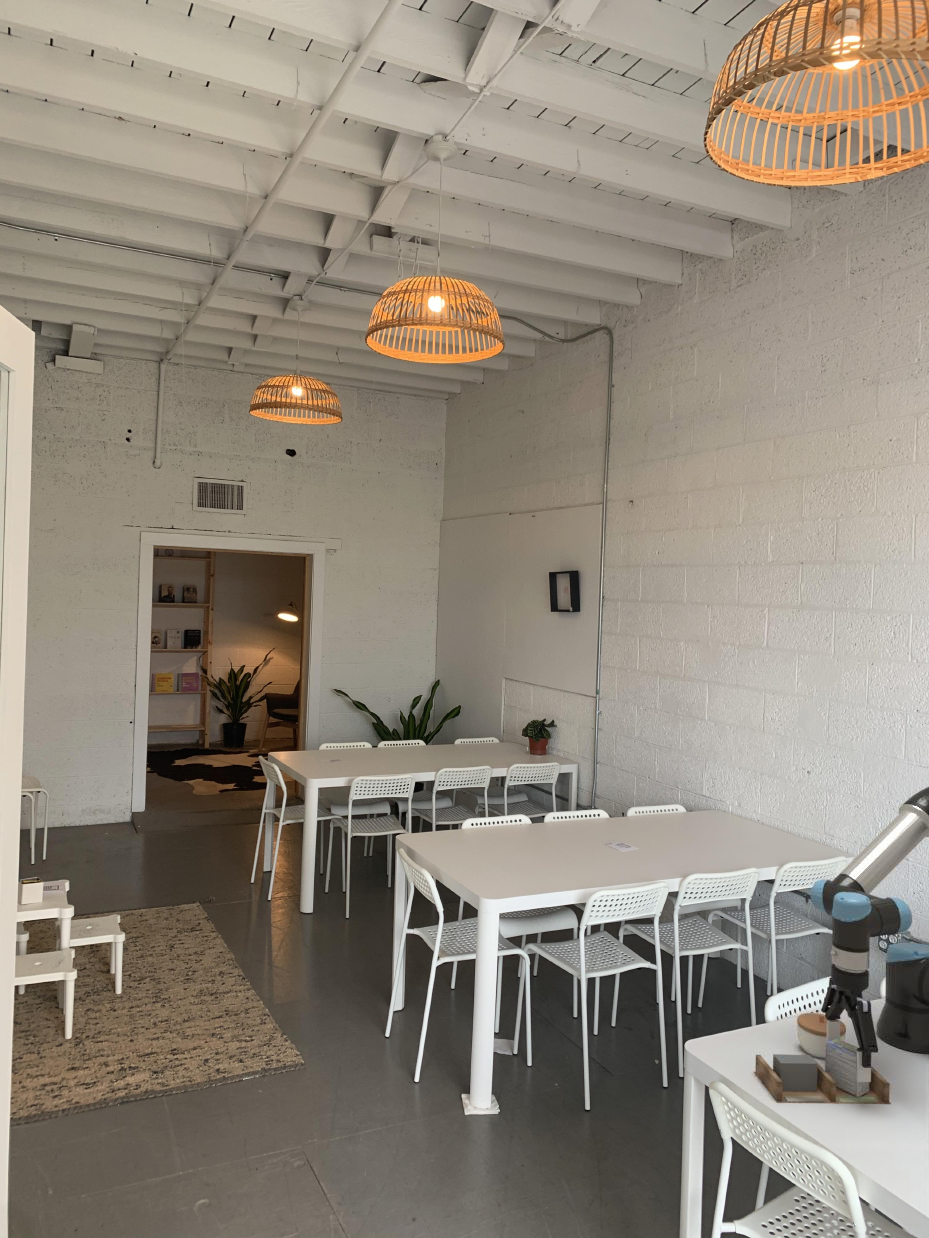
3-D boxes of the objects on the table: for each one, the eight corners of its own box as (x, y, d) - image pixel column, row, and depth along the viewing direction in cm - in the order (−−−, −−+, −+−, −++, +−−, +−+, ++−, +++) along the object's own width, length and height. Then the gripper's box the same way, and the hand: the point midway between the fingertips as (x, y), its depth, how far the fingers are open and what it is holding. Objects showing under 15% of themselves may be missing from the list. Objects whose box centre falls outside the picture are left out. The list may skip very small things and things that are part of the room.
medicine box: (869, 1093, 189) (870, 1052, 190) (857, 1098, 187) (858, 1056, 187) (836, 1077, 196) (837, 1037, 196) (824, 1082, 193) (825, 1041, 194)
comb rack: (753, 1076, 197) (753, 1053, 197) (860, 1077, 198) (860, 1055, 198) (776, 1107, 184) (777, 1082, 184) (891, 1108, 185) (892, 1084, 185)
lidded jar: (849, 1069, 202) (850, 1027, 202) (800, 1062, 204) (801, 1021, 204) (839, 1048, 213) (840, 1008, 213) (792, 1042, 215) (793, 1003, 215)
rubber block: (808, 1082, 193) (809, 1054, 193) (816, 1091, 189) (817, 1063, 189) (772, 1081, 193) (773, 1054, 193) (779, 1091, 189) (780, 1063, 189)
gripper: (807, 945, 204) (805, 1038, 204) (862, 989, 179) (859, 1094, 179) (839, 946, 205) (837, 1038, 204) (898, 989, 180) (895, 1095, 179)
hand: (847, 1065), depth 192 cm, fingers open, 13 cm apart
